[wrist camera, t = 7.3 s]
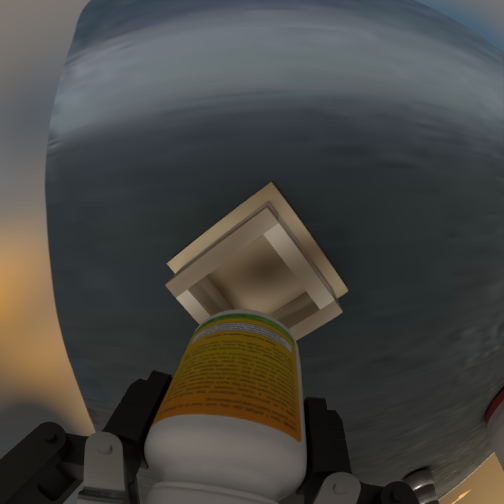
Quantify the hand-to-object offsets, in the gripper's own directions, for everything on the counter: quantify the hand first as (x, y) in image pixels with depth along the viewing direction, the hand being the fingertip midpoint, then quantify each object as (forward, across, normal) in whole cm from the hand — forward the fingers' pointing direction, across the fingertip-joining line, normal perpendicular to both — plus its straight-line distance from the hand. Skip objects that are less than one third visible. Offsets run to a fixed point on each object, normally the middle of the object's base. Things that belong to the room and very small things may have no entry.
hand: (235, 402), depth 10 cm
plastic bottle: (+14, -39, +40) cm, 58 cm away
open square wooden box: (+14, 0, 0) cm, 14 cm away
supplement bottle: (+4, 0, 0) cm, 4 cm away
